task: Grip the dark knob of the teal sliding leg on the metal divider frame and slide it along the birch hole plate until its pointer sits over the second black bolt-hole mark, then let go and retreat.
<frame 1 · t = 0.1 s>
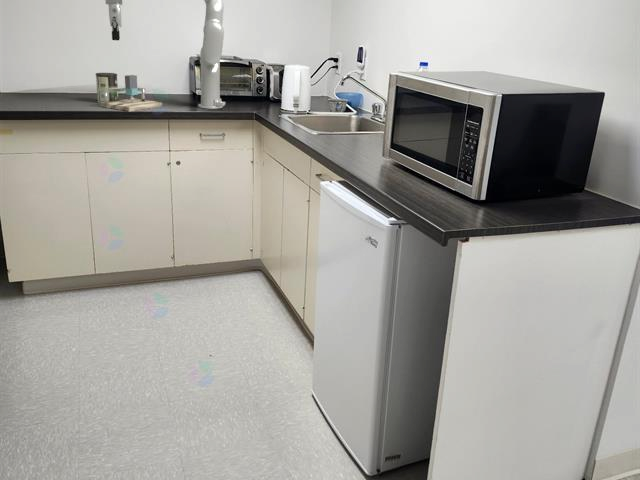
hand: (116, 39, 283), 31 cm above the worktop, tool pointing down, fingers open, 9 cm apart
sliding leg: (131, 88, 287), point 9 cm above the worktop, slide at 0.0 cm
coffee can: (108, 102, 299), on the worktop
hole plate: (132, 106, 290), on the worktop
divider frame: (125, 95, 289), on the hole plate, point 5 cm above the worktop
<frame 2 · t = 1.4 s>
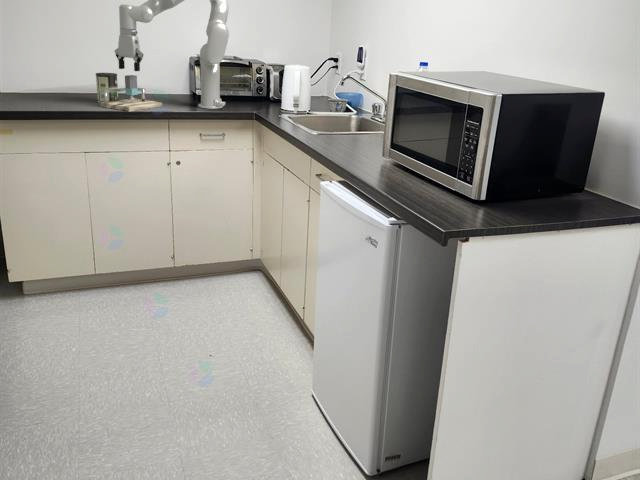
hand: (129, 69, 284), 18 cm above the worktop, tool pointing down, fingers open, 9 cm apart
nothing on the worktop moved.
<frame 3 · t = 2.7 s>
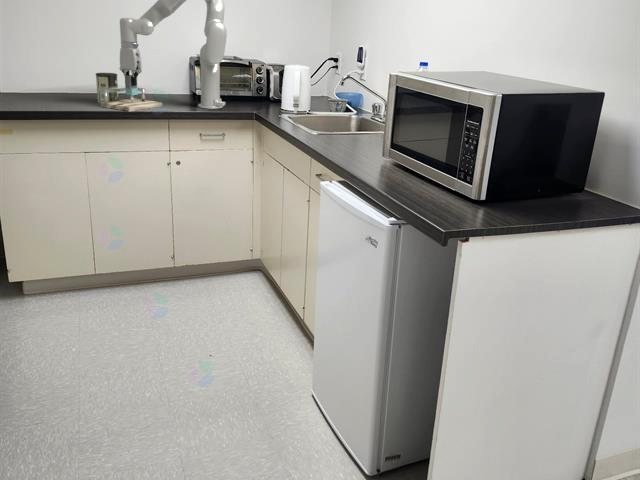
hand: (131, 84, 287), 11 cm above the worktop, tool pointing down, fingers closed on sliding leg, 3 cm apart
sliding leg: (131, 88, 287), point 9 cm above the worktop, slide at 0.0 cm, touching gripper
everything else where it was.
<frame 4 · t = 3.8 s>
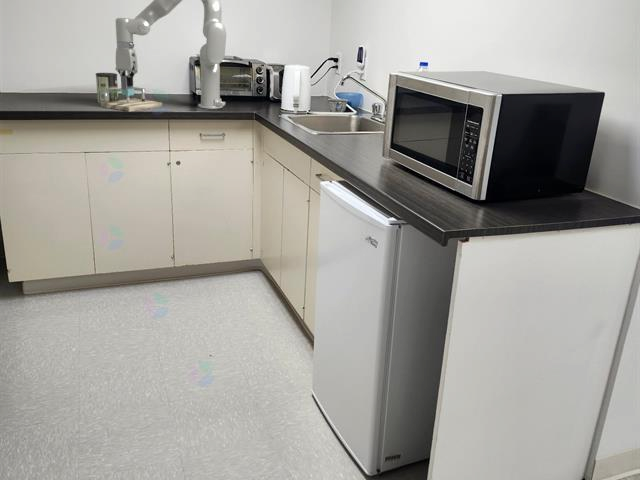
hand: (127, 85, 284), 11 cm above the worktop, tool pointing down, fingers closed on sliding leg, 3 cm apart
sliding leg: (127, 89, 285), point 9 cm above the worktop, slide at 2.7 cm, touching gripper
everything else where it was.
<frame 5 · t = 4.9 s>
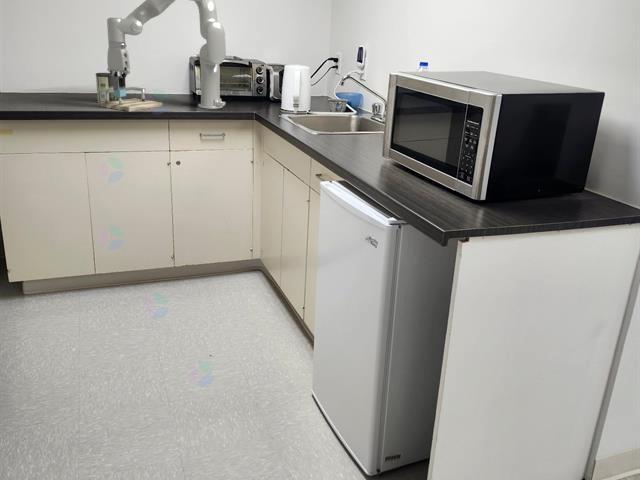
hand: (119, 85, 280), 11 cm above the worktop, tool pointing down, fingers closed on sliding leg, 3 cm apart
sliding leg: (119, 89, 281), point 9 cm above the worktop, slide at 7.8 cm, touching gripper
everything else where it was.
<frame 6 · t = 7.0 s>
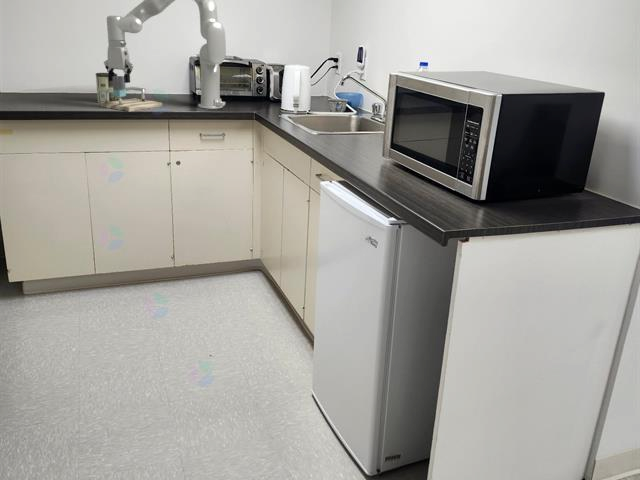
hand: (119, 81, 279), 13 cm above the worktop, tool pointing down, fingers open, 9 cm apart
sliding leg: (119, 90, 281), point 9 cm above the worktop, slide at 8.0 cm
everything else where it was.
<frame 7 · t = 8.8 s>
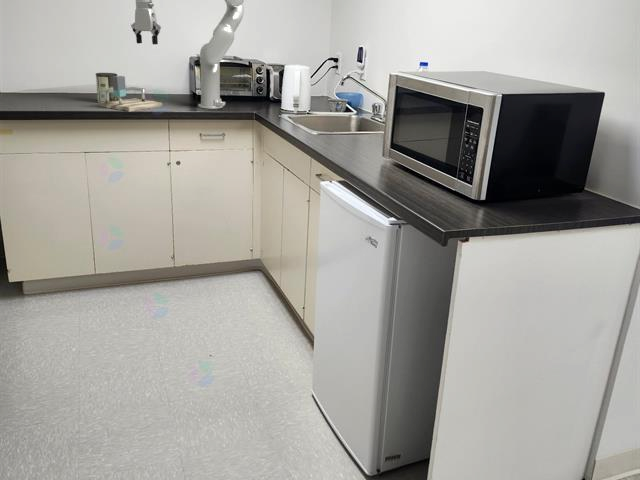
hand: (147, 43, 285), 30 cm above the worktop, tool pointing down, fingers open, 9 cm apart
nothing on the worktop moved.
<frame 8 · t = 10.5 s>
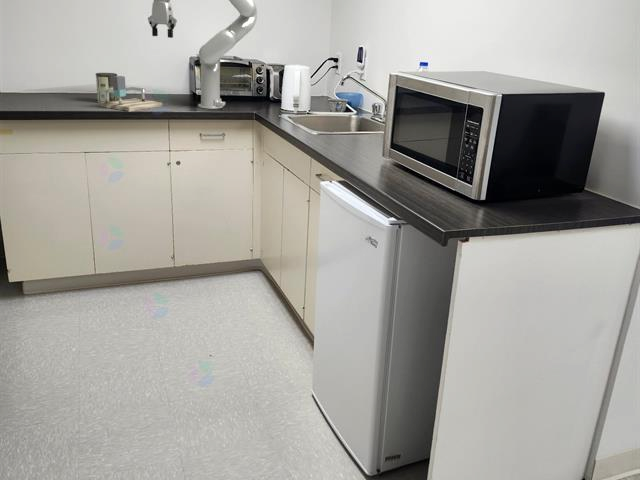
hand: (162, 36, 291), 33 cm above the worktop, tool pointing down, fingers open, 9 cm apart
nothing on the worktop moved.
at the end: sliding leg slide at 8.0 cm; the gripper is holding nothing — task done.
